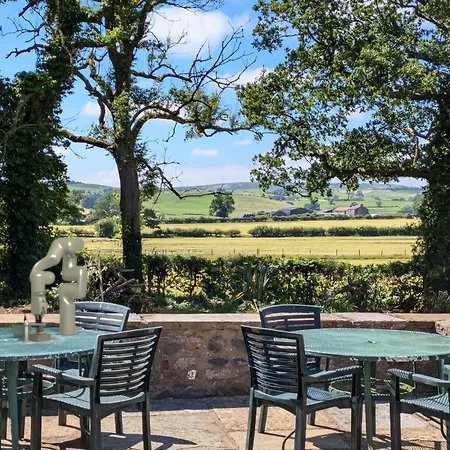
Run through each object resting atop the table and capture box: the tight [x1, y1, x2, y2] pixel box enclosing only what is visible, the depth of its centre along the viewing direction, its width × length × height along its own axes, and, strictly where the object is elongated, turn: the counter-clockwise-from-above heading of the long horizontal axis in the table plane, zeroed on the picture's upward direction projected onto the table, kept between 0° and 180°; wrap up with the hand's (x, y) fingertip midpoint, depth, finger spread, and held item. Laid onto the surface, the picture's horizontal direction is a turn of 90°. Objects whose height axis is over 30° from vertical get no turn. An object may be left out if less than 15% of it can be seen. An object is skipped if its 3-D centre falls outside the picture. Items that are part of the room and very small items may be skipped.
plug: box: [35, 326, 45, 335], centre depth 406 cm, size 5×5×9 cm
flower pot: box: [11, 321, 32, 339], centre depth 418 cm, size 9×9×9 cm
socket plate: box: [19, 326, 54, 345], centre depth 404 cm, size 17×10×10 cm, turn 139°
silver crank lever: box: [23, 321, 47, 327], centre depth 398 cm, size 13×3×2 cm, turn 79°
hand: (38, 326), depth 401 cm, fingers closed
